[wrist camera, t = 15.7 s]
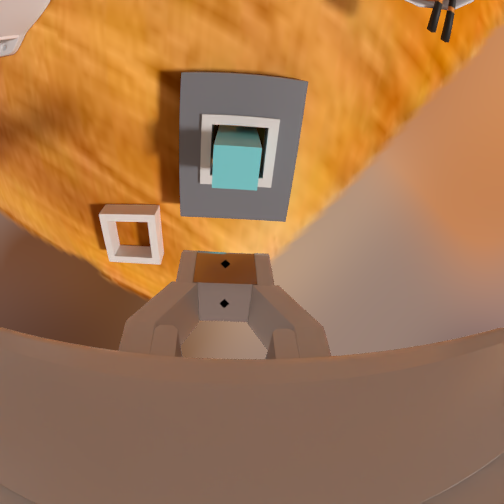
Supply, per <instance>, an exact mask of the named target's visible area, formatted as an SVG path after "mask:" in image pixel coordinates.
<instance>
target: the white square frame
mask: <svg viewBox="0 0 504 504" xmlns="http://www.w3.org/2000/svg"><path fill="white" fill-rule="evenodd" d="M99 218H100V223H101V228H102V232H103V237H104V241H105V245H106V249H107V253H108V257H109V261H111V262H127V263H144V264H161V261H162V257H163V254H164V249H163V240H162V230H161V219H160V207H159V205H132V204H106V205H105V206H104V208H103V209H102V210H101V212H100V213H99ZM115 221H126V222H148V230H149V238H150V246H129V245H120V243H119V238H118V233H117V227H116V222H115Z"/></svg>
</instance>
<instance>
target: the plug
mask: <svg viewBox="0 0 504 504" xmlns="http://www.w3.org/2000/svg"><path fill="white" fill-rule="evenodd" d="M261 153H262V146H261V142H260V138H259V135H258V131H257V128H255V127H243V126H227V125H219V128H218V132H217V135H216V139H215V142H214V149H213V170H212V188H223V189H240V190H255V191H257V187H258V179H259V170H260V162H261Z"/></svg>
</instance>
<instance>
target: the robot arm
mask: <svg viewBox="0 0 504 504" xmlns="http://www.w3.org/2000/svg"><path fill="white" fill-rule="evenodd" d="M49 2H50V0H0V57H3V56H9V55H13V54H15V53H16V52H17V50H18V49H19V47H20V45H21V43H22V41H23V38H24V36H25V34H26V33H27V31H28V30H29V29H30V27H31V26H32V25H33V24H34V23H35V22H36V21H37V19H38V18H39V17H40V16H41V14H42V13H43V12H44V10H45V9H46V7H47V5H48V4H49ZM6 46H7V48H6ZM223 319H224V321H234V322H248V325H249V326H250V327H251V328H252V330H253V331H254V333H255V334H256V335H257V337H258V338H259V339H260V341H261V342H262V343H263V345H264V346H265V347H266V349H267V350H268V352H267V355H266V359H209V358H188V357H182V352H181V344H182V343H183V342H184V341H185V339H186V338H187V337H188V336H189V334H190V333H191V332H192V331H193V329H194V328H195V327H196V326H197V324H198V323H199V321H223ZM0 504H504V328H497V329H493V330H490V331H486V332H482V333H478V334H474V335H470V336H466V337H461V338H457V339H452V340H447V341H442V342H437V343H432V344H426V345H420V346H414V347H408V348H402V349H394V350H388V351H379V352H372V353H362V354H352V355H342V356H331V353H330V349H329V345H328V341H327V338H326V334H325V330H324V328H323V326H322V325H321V324H320V323H319V322H318V321H316V320H315V319H314V318H313V317H312V316H311V315H310V314H309V313H308V312H307V311H306V310H304V309H303V308H302V307H301V306H300V305H299V304H298V303H297V302H296V301H295V300H294V299H292V298H291V297H290V296H289V295H288V294H287V293H286V292H285V291H284V290H283V289H282V288H281V287H279V286H275V285H274V280H273V275H272V269H271V263H270V257H269V255H268V254H258V253H254V254H243V253H223V252H207V251H198V252H197V251H189V250H183V252H182V254H181V259H180V264H179V269H178V274H177V279H176V282H171V283H170V284H169V285H167V286H166V287H165V288H164V289H163V290H161V291H160V292H159V293H158V294H157V295H156V296H154V297H153V298H152V299H151V300H150V301H149V302H147V303H146V304H145V305H144V306H143V307H142V308H140V309H139V310H138V311H137V312H136V313H135V314H134V315H132V316H131V317H130V318H129V319H128V320H127V321H126V324H125V328H124V332H123V335H122V339H121V342H120V346H119V350H118V351H116V350H108V349H101V348H94V347H89V346H82V345H77V344H71V343H66V342H61V341H55V340H51V339H46V338H42V337H37V336H33V335H29V334H24V333H20V332H17V331H12V330H9V329H5V328H2V327H0Z"/></svg>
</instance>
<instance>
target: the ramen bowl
mask: <svg viewBox="0 0 504 504" xmlns="http://www.w3.org/2000/svg"><path fill="white" fill-rule="evenodd" d="M405 1H407V2H410V3H412V4H414V5H416V6H418V7H427V8H433V10H432V14H431V17H430V20H429V23H428V27H427V29H428V30H429V31H430V32H436V28H437V24H438V20H439V16H440V12H441V9H444V10H447V13H446V18H445V22H444V27H443V31H442V35H441V40H443V41H444V42H449V39H450V34H451V29H452V24H453V18H454V10H455V9H457V8H459V7H462V6H464V5H466V4H468V3H471V2H473V1H474V0H405Z"/></svg>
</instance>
